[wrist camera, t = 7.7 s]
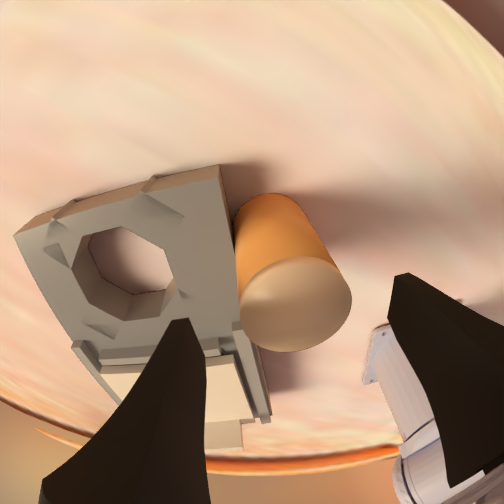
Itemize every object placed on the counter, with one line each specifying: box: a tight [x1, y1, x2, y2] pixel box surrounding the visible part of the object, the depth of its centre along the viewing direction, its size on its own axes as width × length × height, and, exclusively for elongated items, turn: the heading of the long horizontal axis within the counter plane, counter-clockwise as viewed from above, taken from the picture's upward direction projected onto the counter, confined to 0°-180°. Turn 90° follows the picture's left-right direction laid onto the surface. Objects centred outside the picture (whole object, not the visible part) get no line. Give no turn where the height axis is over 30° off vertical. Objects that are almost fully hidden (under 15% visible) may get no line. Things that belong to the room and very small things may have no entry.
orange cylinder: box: [233, 194, 352, 352], centre depth 13 cm, size 4×4×7 cm
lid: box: [100, 354, 255, 454], centre depth 17 cm, size 9×8×3 cm
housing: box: [13, 165, 272, 424], centre depth 17 cm, size 12×20×3 cm, turn 9°
